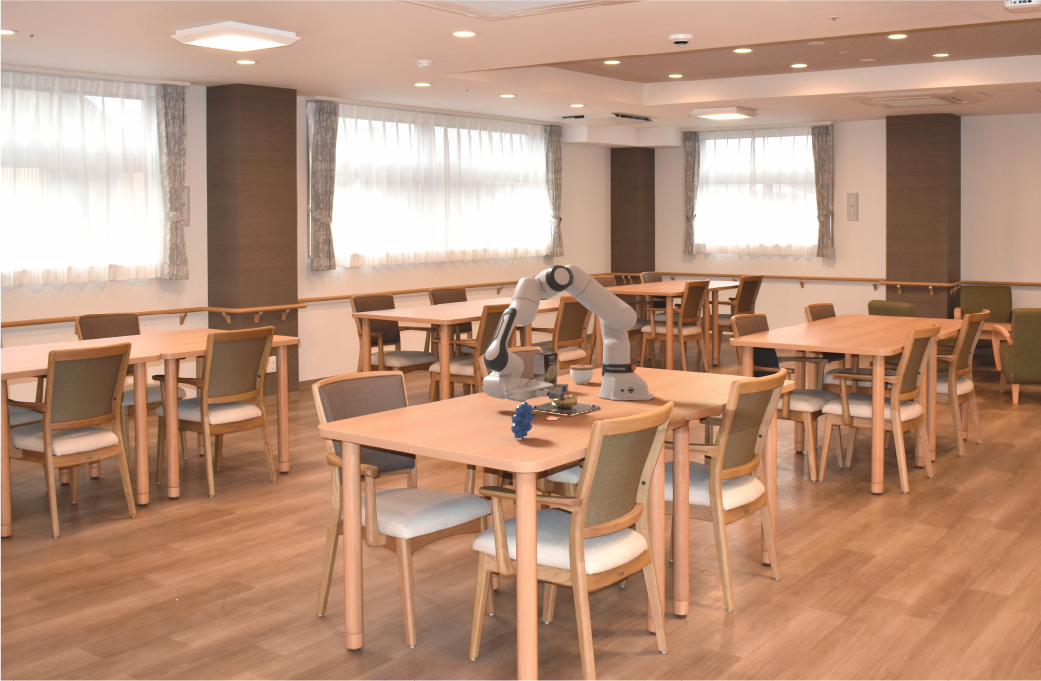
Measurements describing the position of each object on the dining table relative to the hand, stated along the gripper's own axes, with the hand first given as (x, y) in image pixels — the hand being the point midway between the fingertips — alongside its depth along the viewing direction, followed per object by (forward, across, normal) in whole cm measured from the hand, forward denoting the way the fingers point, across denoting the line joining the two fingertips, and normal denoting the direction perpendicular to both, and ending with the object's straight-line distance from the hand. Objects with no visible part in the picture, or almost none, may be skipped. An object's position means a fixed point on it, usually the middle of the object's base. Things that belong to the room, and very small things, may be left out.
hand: (549, 393), depth 353 cm
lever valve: (-2, +9, +7) cm, 11 cm away
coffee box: (-38, +49, +9) cm, 63 cm away
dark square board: (-6, +17, +9) cm, 20 cm away
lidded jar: (-37, +75, +9) cm, 84 cm away
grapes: (+13, -34, +9) cm, 38 cm away
